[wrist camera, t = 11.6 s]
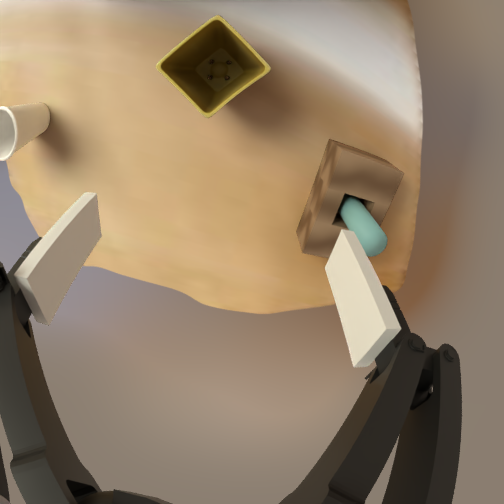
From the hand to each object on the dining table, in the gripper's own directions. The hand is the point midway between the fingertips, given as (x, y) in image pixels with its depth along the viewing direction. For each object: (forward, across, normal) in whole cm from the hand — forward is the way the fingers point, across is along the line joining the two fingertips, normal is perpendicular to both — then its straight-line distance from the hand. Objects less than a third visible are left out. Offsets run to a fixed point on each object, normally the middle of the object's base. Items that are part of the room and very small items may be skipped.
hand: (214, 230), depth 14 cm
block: (+26, +18, -7) cm, 32 cm away
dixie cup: (+27, -34, 0) cm, 43 cm away
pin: (+24, +18, -7) cm, 31 cm away
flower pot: (+27, -3, +8) cm, 28 cm away
